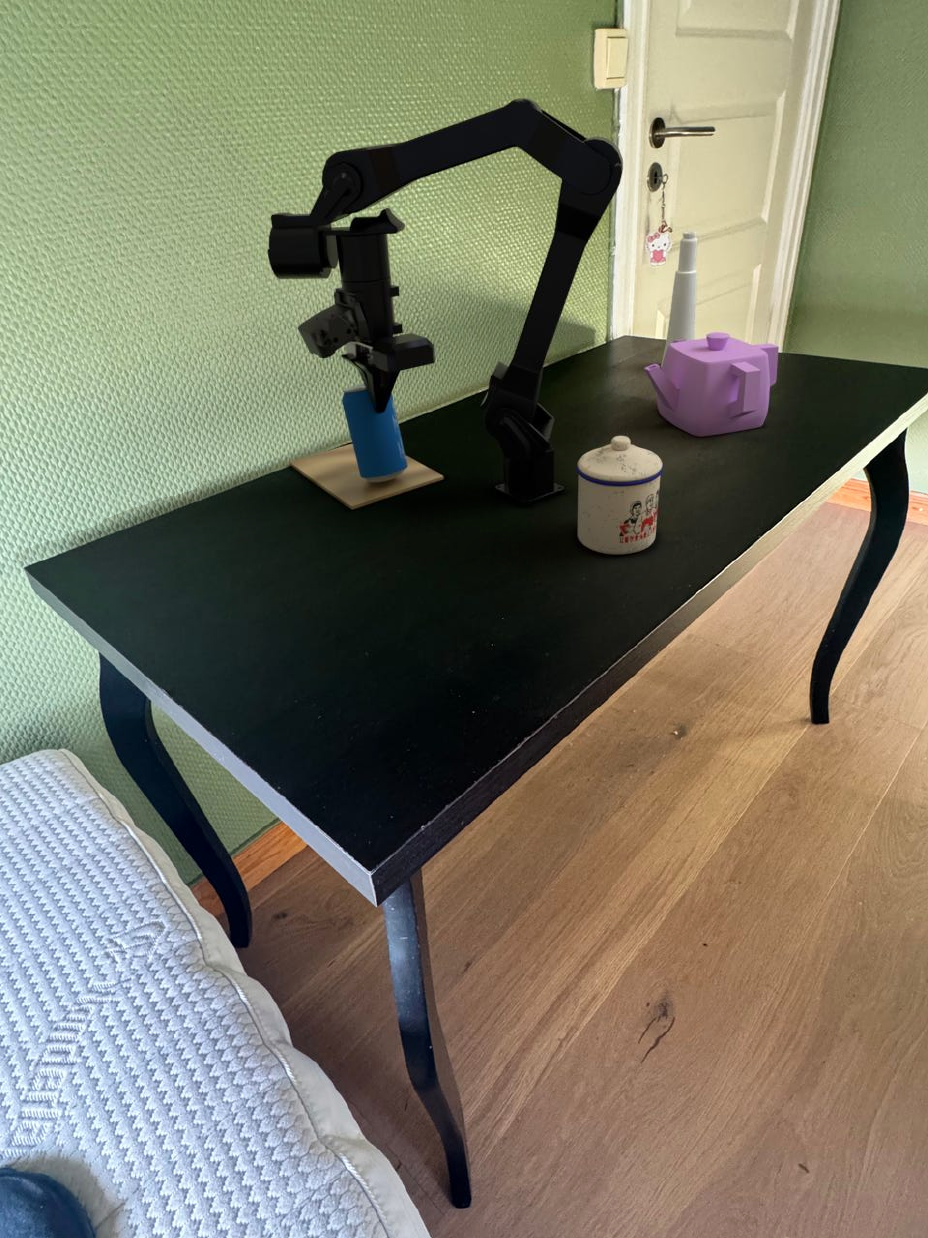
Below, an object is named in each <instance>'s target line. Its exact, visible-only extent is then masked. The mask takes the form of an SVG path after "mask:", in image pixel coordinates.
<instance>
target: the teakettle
mask: <svg viewBox="0 0 928 1238" xmlns="http://www.w3.org/2000/svg"><path fill="white" fill-rule="evenodd" d="M779 351H780V350H779V346H778V345H775V344H773V343H760V344H751V343H748V342H745V341H743V340H740V339H738V338H735V337H732V336H731V335H730V334H729V333H728V332H723V331H713V332H709V333H707V334H706V335H705V338H696V339H694V340H689V341H687V340H684V339H680V340H673V343H671V344H669V345H668V348H667V351H666V354H665V358H664V361H663V365H662V368H661V365H659V364H657V363H653V364H650V365H647V366H646V367H643V368H644V369H643V370H644V372H645V373H646V375H647V377H648V379H649V381H650V383H651V385H652V387H653V388H654V391H655V392H656V404H657V410H658V412H659V414H660V415H661V416H662V417H663V418H664V419H665V420H666V421H668V422H669V423H670V424H671V425H673V426H675V427H676V428H678V429H680V430H682V431H683V432H686V433H688V434H690V435H692V436H695V437H699V438H700V437H703V438H704V437H711V436H717V435H723V434H731V433H735V432H736V433H738V432H742V431H749V430H753V429H757V428H761V427H762V426H763V425H764V422H765V420H766V417H767V415H768V413H769V404H770V392H771V391H770V389H771V387H772V386H774V385H775V384H776V383H777V377H778V366H779V365H778V363H779Z"/></svg>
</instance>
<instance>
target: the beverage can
mask: <svg viewBox="0 0 928 1238" xmlns="http://www.w3.org/2000/svg"><path fill="white" fill-rule="evenodd" d="M342 393H343V395H342V398H341V403H342V406H343V411H344V415H345V419H346V424H347V428H348V431H349V435H350V439H351V444H353V448H354V452H355V456H356V460H357V464H358V468H359V472H360V476H361V477H362V478H364V479H366V480H367V481H368V482H381V481H387V480H391V479H394V478H397V477H399V476H401V475H402V474H403V473H404V470H405V469H406V468H407V467H408V465H407V460H406V456H407V455H406V452H405V447H404V441H403V439H402V438H403V437H402V433H401V429H400V424H399V419H398V416H397V411H396V406H395V402H394V401H395V400H394V397H393V392H392V393H391V396H390V399H389V402H388V404H387V407H386V410H385V412H383V413H379V414H378V413H376V412H375V409H374V407H373V404H372V402H371V399H370V397H369V394H368V392H367V390H366V387H365V385H364V382H363V383H359V384H355V385H351V386H348V387H345V388H344V389H342ZM405 455H406V456H405Z"/></svg>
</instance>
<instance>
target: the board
mask: <svg viewBox="0 0 928 1238" xmlns="http://www.w3.org/2000/svg"><path fill="white" fill-rule="evenodd" d="M405 456H406V460H407V465H408V467H407V468H406V469H405V470H404V473H403V474H402V475H401V476H399V477H397V478H394V479H391V480H387V481H381V482H368V481H367V480H366V479H364V478H362V477H361V476H360V472H359V468H358V464H357V460H356V456H355V452H354V448H353V444H352V443H350V444H346V445H343V446H340V447H336V448H333V449H329V450H326V451H325V450H324V451H323V452H319V453H316V454H315V453H314V454H312V455H309V456H306V457H301V458H298V459H295V460H291V461H289V462H288V464H289V466H290V467H292V468H293V470H296V471H297V472H298V473H300V474H301V475H302V476H304V477H305V478H306V479H308V480H310V481H311V482H312V483H313V484H315V485H317V487H319V488H321V489H322V490H323V491H324V492H326V493H328V494H329V495H330V496H332V497H333V498H335V499H336V500H338V501H339V502H340V503H342V504H343V505H345V506H346V507H347V508H348V509H350V510H355V509H359V508H361V507H364V506H367V505H370V504H373V503H376V502H377V503H378V502H379V501H383V500H387V499H388V498H392V497H395V496H397V495H401V494H403V493H406V492H409V491H412V490H415V489H418V488H421V487H425V486H428V485H431V484H434V483H437V482H440V481H442V480H444V479H445V478H444V475H442V474H440V473H439V472H437V471H435V470H434V469H432V468H430V467H427V466H426V465H424V464H422V463H420V462H419V461H417V460H415V459H414V458H411V457H410V456H408V455H406V454H405Z"/></svg>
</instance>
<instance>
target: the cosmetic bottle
mask: <svg viewBox="0 0 928 1238" xmlns="http://www.w3.org/2000/svg"><path fill="white" fill-rule="evenodd" d="M697 233H698V232H696V231H684V232H682V238H681V239H680V241H679V242H680V243H679V254H678V265H677V266H678V267H677V270H675V273H674V279H673V287H672V295H671V304H670V310H669V311H670V313H669V320H668V327H667V335H666V340H665V346H664V351H663V356H662V360H661V364H660V368H661V369H662V365H663V361H664V358H665V354H666V351H667V348H668V345H669V344H671V343H673V340H680V339H684V340H687V341H689V340H695V334H696V333H695V332H696V331H695V328H696V307H697V289H698V288H697V287H698V270H697V269H696V265H697V263H696V262H697V255H698V254H697V252H698V241H699V240H698V238H697V235H698V234H697Z"/></svg>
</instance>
